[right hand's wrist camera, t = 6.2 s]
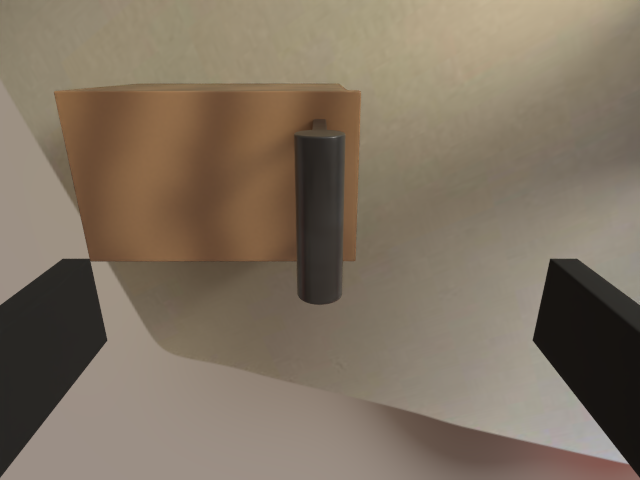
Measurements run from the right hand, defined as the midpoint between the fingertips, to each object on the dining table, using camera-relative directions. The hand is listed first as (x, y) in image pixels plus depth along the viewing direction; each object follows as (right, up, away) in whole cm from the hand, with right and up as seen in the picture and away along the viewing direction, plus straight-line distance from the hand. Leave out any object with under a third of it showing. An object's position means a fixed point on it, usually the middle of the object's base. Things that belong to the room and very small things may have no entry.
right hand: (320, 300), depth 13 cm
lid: (-6, +5, +14) cm, 16 cm away
